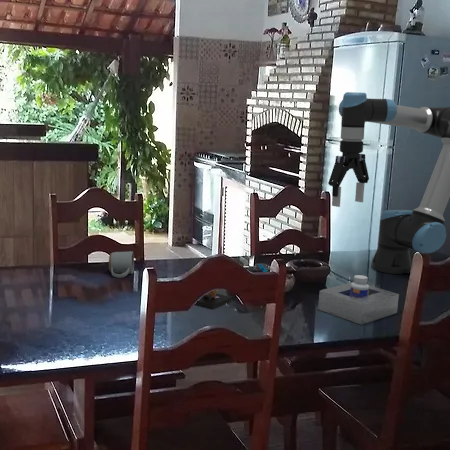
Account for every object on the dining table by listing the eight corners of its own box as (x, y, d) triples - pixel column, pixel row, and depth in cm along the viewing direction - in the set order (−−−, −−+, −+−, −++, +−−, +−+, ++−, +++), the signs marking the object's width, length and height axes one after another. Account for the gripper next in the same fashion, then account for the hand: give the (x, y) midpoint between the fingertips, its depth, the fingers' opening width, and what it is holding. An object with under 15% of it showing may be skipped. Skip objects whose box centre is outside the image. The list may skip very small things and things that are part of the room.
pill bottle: (349, 309, 192) (352, 278, 191) (348, 304, 198) (351, 273, 196) (367, 311, 192) (370, 280, 190) (366, 305, 197) (369, 275, 195)
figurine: (231, 301, 198) (233, 264, 196) (212, 309, 190) (214, 270, 187) (204, 295, 203) (206, 258, 201) (185, 302, 195) (187, 264, 193)
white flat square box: (354, 299, 207) (355, 281, 205) (396, 312, 195) (398, 294, 194) (318, 309, 195) (319, 290, 193) (361, 324, 183) (363, 304, 182)
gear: (281, 286, 210) (261, 264, 210) (268, 298, 211) (248, 275, 211) (280, 281, 221) (261, 260, 221) (267, 293, 222) (248, 271, 222)
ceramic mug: (110, 269, 227) (111, 248, 225) (134, 270, 227) (134, 249, 226) (106, 278, 216) (107, 256, 215) (131, 279, 217) (131, 257, 215)
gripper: (363, 137, 222) (359, 198, 226) (319, 140, 204) (316, 206, 209) (382, 139, 216) (377, 201, 221) (339, 142, 199) (335, 209, 204)
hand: (347, 204), depth 215 cm, fingers open, 13 cm apart
